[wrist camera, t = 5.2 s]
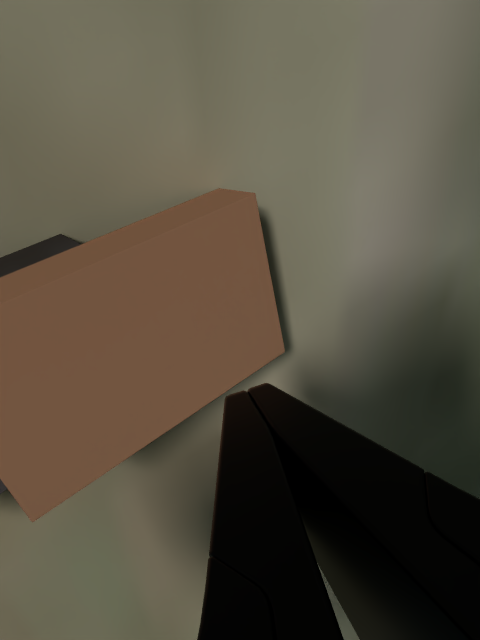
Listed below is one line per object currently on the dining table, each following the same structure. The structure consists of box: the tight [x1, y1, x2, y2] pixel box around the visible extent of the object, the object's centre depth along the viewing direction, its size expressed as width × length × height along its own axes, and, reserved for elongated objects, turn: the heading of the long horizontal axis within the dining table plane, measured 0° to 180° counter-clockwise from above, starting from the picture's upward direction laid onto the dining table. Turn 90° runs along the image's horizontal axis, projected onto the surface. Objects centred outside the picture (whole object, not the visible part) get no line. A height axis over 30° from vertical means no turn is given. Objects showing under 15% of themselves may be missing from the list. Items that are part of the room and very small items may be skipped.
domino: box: [0, 188, 285, 522], centre depth 11 cm, size 2×5×8 cm
